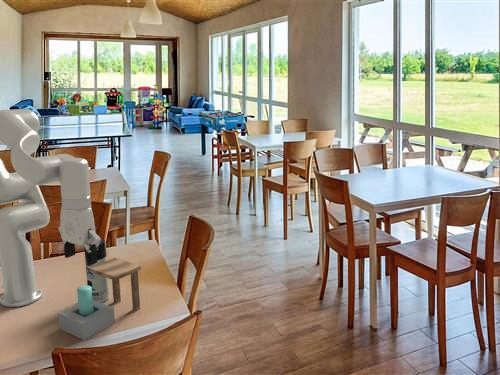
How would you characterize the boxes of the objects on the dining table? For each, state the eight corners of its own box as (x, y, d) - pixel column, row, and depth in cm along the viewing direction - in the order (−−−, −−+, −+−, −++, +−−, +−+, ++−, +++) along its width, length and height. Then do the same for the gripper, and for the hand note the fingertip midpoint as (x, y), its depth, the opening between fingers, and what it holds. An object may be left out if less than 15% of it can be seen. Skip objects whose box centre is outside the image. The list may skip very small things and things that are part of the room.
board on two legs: (92, 311, 142) (89, 268, 139) (117, 298, 150) (114, 257, 147) (118, 321, 136) (115, 277, 132) (143, 308, 144) (140, 265, 140)
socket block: (59, 328, 132) (58, 313, 131) (91, 312, 141) (89, 298, 140) (84, 340, 126) (82, 323, 125) (115, 322, 135) (113, 307, 134)
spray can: (84, 299, 149) (79, 242, 145) (102, 292, 155) (97, 237, 150) (96, 305, 145) (91, 247, 141) (113, 298, 151) (109, 241, 146)
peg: (77, 326, 133) (74, 289, 130) (88, 321, 136) (85, 284, 133) (86, 330, 131) (82, 292, 128) (97, 324, 134) (94, 287, 131)
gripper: (45, 200, 126) (50, 257, 131) (85, 211, 117) (89, 272, 121) (68, 195, 133) (73, 249, 137) (108, 205, 123) (111, 263, 128)
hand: (80, 260), depth 129 cm, fingers open, 9 cm apart
